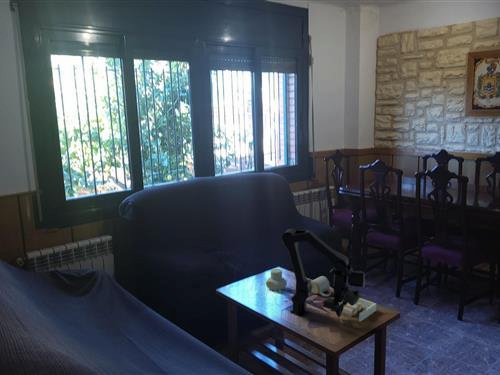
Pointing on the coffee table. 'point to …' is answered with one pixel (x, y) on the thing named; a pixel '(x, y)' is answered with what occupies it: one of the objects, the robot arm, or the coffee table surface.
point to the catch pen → (370, 309)
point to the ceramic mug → (320, 286)
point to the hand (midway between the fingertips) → (338, 316)
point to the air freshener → (276, 280)
